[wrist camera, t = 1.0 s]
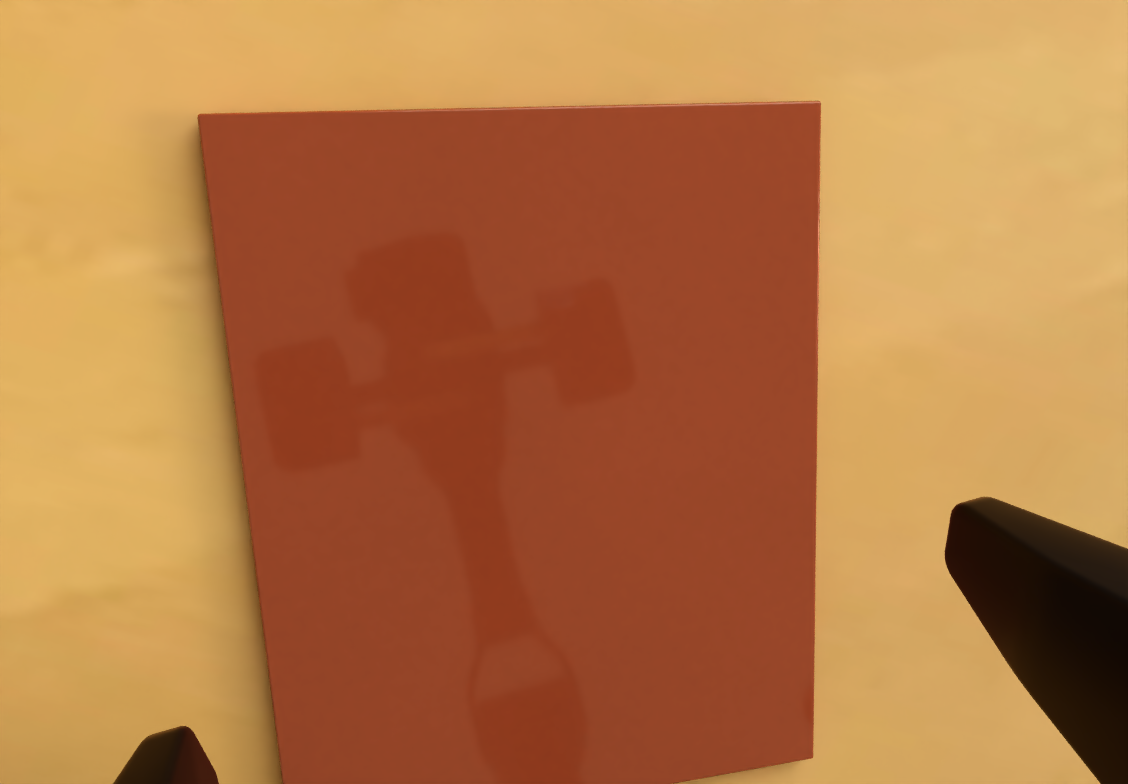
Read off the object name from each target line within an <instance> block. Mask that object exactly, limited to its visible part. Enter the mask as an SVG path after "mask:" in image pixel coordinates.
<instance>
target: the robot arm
mask: <svg viewBox="0 0 1128 784" xmlns="http://www.w3.org/2000/svg"><path fill="white" fill-rule="evenodd" d="M945 562H946V565H947V568H948V570H949V573H950V574H951V576H952V578H953V579H954V581H955V582H956V584H957V585H958V587H959V589H960V590H961V592H962V593H963V595H964V596H965V598H966V599H967V601H968V602H969V604H970V606H971V607H972V609H973V610H974V612H975V613H976V615H977V616H978V618H979V620H980V621H981V623H982V624H983V626H984V627H985V629H986V630H987V632H988V634H989V635H990V637H991V638H992V640H993V641H994V643H995V644H996V646H997V647H998V649H999V651H1000V652H1001V654H1002V655H1003V657H1004V658H1005V660H1006V661H1007V663H1008V664H1009V666H1010V667H1011V669H1012V670H1013V672H1014V673H1015V675H1016V676H1017V677H1018V679H1019V680H1020V682H1021V683H1022V684H1023V686H1024V687H1025V688H1026V690H1027V691H1028V692H1029V694H1030V695H1031V696H1032V698H1033V699H1034V700H1035V701H1036V703H1037V704H1038V705H1039V706H1040V708H1041V709H1042V710H1043V711H1044V713H1045V714H1046V715H1047V716H1048V718H1049V719H1050V720H1051V721H1052V723H1053V724H1054V725H1055V727H1056V728H1057V729H1058V730H1059V732H1060V733H1061V734H1062V735H1063V737H1064V738H1065V739H1066V740H1067V742H1068V743H1069V744H1070V745H1071V747H1072V748H1073V749H1074V750H1075V752H1076V753H1077V754H1078V756H1079V757H1080V758H1081V759H1082V761H1083V762H1084V763H1085V764H1086V766H1087V767H1088V768H1089V769H1090V771H1091V772H1092V773H1093V774H1094V776H1095V777H1096V778H1097V779H1098V781H1099V782H1100V783H1101V784H1128V549H1127V548H1124V547H1122V546H1119V545H1116V544H1114V543H1111V542H1108V541H1106V540H1103V539H1100V538H1098V537H1095V536H1092V535H1090V534H1087V533H1085V532H1082V531H1079V530H1077V529H1074V528H1071V527H1069V526H1066V525H1063V524H1061V523H1058V522H1055V521H1053V520H1050V519H1047V518H1045V517H1042V516H1040V515H1037V514H1034V513H1032V512H1029V511H1026V510H1024V509H1021V508H1018V507H1016V506H1013V505H1010V504H1008V503H1005V502H1003V501H1000V500H997V499H994V498H991V497H980V498H976V499H973V500H969V501H966V502H963V503H959V504H957V505H956V506H955V507H954V509H953V510H952V512H951V517H950V523H949V529H948V535H947V541H946V548H945ZM113 784H219V783H218V779H217V775H216V772H215V770H214V768H213V766H212V765H211V763H210V761H209V759H208V757H207V756H206V754H205V752H204V750H203V748H202V747H201V745H200V743H199V741H198V739H197V738H196V736H195V734H194V732H193V731H192V730H191V729H190V728H189V727H186V726H180V727H176V728H173V729H169V730H166V731H162V732H159V733H155V734H152V735H150V736H148V737H147V738H145V739H144V740H143V741H142V742H141V744H140V745H139V746H138V748H137V749H136V751H135V752H134V754H133V755H132V757H131V758H130V760H129V761H128V762H127V764H126V765H125V767H124V768H123V770H122V771H121V773H120V774H119V776H118V777H117V779H116V780H115V782H114V783H113Z"/></svg>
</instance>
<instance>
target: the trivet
mask: <svg viewBox="0 0 1128 784" xmlns="http://www.w3.org/2000/svg"><path fill="white" fill-rule="evenodd" d="M198 125H199V133H200V140H201V148H202V156H203V164H204V172H205V180H206V187H207V195H208V203H209V211H210V219H211V227H212V234H213V242H214V250H215V258H216V266H217V274H218V281H219V289H220V297H221V305H222V313H223V321H224V328H225V336H226V344H227V352H228V360H229V368H230V375H231V383H232V391H233V399H234V407H235V415H236V422H237V430H238V438H239V446H240V454H241V462H242V469H243V477H244V485H245V493H246V501H247V509H248V516H249V524H250V532H251V540H252V548H253V556H254V563H255V571H256V579H257V587H258V595H259V602H260V610H261V618H262V626H263V634H264V642H265V649H266V657H267V665H268V673H269V681H270V689H271V696H272V704H273V712H274V720H275V728H276V736H277V743H278V751H279V759H280V767H281V775H282V783H283V784H674V783H679V782H685V781H690V780H696V779H701V778H707V777H712V776H718V775H723V774H729V773H734V772H740V771H745V770H751V769H756V768H762V767H767V766H773V765H778V764H784V763H789V762H795V761H800V760H806V759H811V758H813V728H814V643H815V558H816V473H817V388H818V303H819V218H820V133H821V102H820V101H789V102H741V103H693V104H645V105H597V106H549V107H501V108H453V109H404V110H356V111H308V112H260V113H212V114H199V115H198Z"/></svg>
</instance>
